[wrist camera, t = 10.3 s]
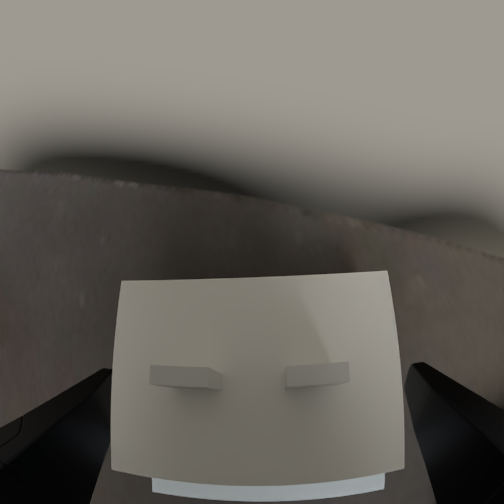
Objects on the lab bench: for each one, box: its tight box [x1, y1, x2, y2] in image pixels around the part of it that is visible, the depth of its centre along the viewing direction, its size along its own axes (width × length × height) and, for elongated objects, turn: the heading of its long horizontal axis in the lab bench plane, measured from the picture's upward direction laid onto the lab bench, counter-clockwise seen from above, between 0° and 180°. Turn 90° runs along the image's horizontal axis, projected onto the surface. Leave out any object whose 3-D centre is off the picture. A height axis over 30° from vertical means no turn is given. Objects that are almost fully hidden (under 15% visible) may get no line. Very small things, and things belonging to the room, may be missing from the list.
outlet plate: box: [152, 473, 385, 501], centre depth 16 cm, size 12×12×2 cm
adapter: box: [111, 271, 404, 486], centre depth 10 cm, size 4×6×13 cm
